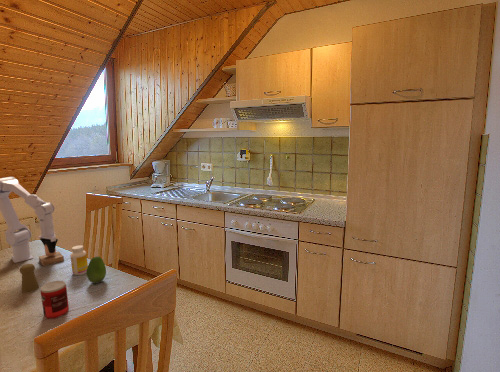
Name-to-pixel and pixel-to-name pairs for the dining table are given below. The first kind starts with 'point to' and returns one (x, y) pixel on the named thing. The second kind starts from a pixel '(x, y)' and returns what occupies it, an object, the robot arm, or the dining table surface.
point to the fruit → (96, 270)
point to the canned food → (54, 299)
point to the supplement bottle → (78, 260)
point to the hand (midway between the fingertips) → (50, 251)
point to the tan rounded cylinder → (48, 251)
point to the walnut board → (51, 259)
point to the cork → (28, 278)
